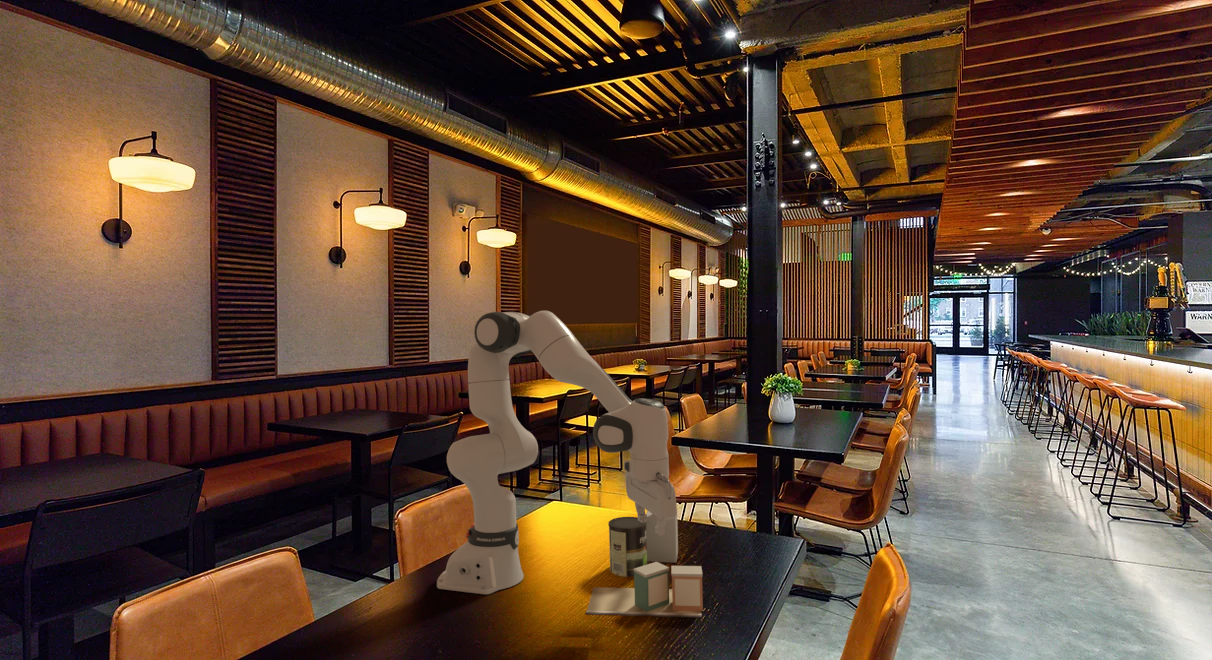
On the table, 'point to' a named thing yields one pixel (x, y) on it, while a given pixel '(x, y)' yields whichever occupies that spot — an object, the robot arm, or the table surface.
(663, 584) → the green tin
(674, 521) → the soap bottle
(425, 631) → the table surface
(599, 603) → the shelf board
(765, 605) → the table surface
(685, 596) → the rust tin
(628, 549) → the coffee can
